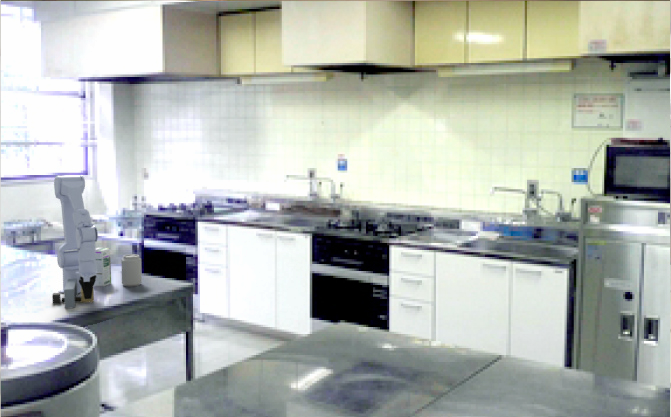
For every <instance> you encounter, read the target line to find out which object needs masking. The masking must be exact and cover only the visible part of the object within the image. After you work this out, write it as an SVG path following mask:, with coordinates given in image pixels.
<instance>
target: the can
mask: <svg viewBox="0 0 671 417" xmlns="http://www.w3.org/2000/svg"><path fill="white" fill-rule="evenodd" d="M142 280H143V279H142V258H141V257H140V255H139V254H131V253H130V254H124V255H123V256H122V258H121V284H122V285H123V286H124V287H132V288H133V287H138V286H140V284H142V283H143V282H142Z"/></svg>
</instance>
